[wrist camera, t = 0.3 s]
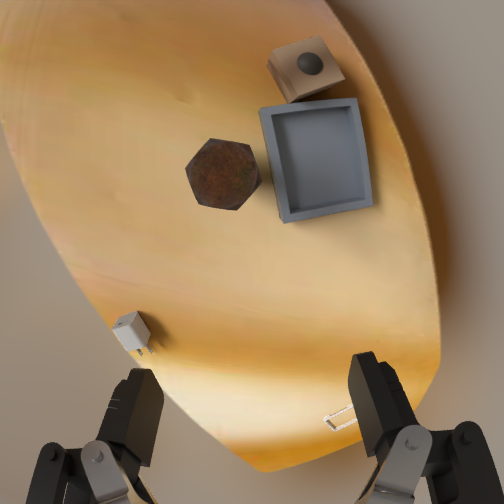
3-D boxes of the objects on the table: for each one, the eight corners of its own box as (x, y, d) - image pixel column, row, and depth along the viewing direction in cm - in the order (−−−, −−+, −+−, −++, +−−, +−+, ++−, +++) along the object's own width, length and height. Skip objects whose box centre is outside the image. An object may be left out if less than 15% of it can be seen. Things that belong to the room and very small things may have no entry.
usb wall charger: (138, 310, 40) (130, 324, 36) (159, 343, 42) (154, 359, 39) (119, 316, 40) (110, 330, 37) (140, 348, 43) (134, 364, 39)
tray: (258, 111, 31) (260, 108, 29) (347, 101, 31) (356, 97, 28) (279, 217, 36) (283, 223, 34) (363, 201, 36) (373, 205, 33)
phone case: (333, 427, 55) (389, 398, 53) (334, 432, 54) (391, 402, 51) (322, 416, 53) (382, 384, 50) (323, 421, 51) (384, 388, 49)
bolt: (255, 150, 33) (269, 148, 19) (247, 189, 35) (255, 215, 21) (209, 142, 32) (190, 135, 18) (202, 181, 34) (178, 202, 20)
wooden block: (266, 65, 29) (272, 49, 24) (307, 51, 29) (320, 34, 23) (288, 104, 31) (298, 95, 26) (328, 89, 31) (345, 78, 25)
